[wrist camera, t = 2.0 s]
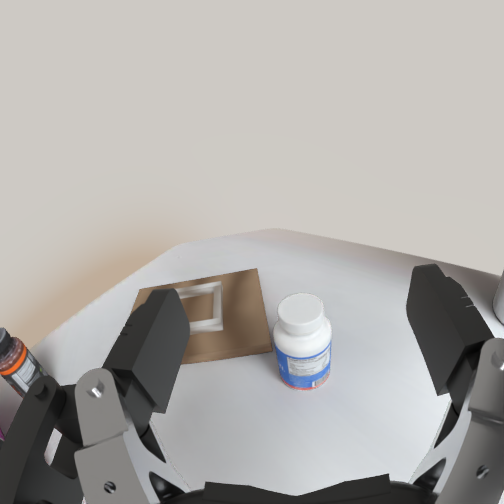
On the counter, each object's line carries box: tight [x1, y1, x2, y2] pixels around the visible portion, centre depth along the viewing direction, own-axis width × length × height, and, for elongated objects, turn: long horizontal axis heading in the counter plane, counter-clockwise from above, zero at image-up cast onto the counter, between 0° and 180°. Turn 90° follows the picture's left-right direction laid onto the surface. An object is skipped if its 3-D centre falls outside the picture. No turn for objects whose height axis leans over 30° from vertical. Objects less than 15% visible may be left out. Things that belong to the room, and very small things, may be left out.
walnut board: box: [130, 268, 273, 364], centre depth 38 cm, size 20×16×3 cm
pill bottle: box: [273, 293, 332, 391], centre depth 26 cm, size 6×5×10 cm
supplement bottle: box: [0, 328, 49, 399], centre depth 25 cm, size 6×6×11 cm
